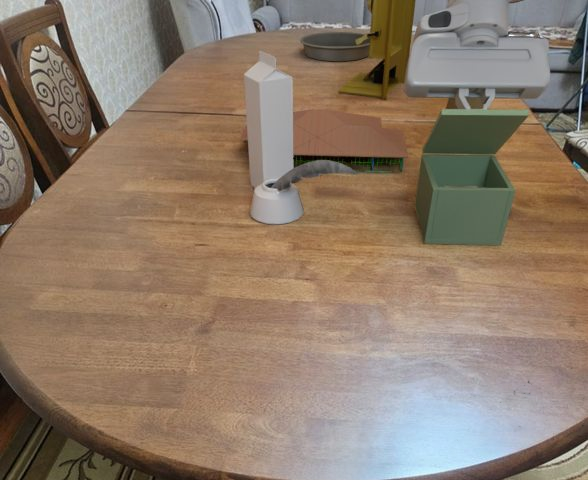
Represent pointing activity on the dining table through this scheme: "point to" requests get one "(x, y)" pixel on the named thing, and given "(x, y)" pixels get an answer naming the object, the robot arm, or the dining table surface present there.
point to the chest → (463, 199)
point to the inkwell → (288, 192)
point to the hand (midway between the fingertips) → (474, 123)
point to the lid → (472, 131)
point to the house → (344, 136)
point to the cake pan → (335, 46)
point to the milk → (269, 120)
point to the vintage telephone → (385, 48)
